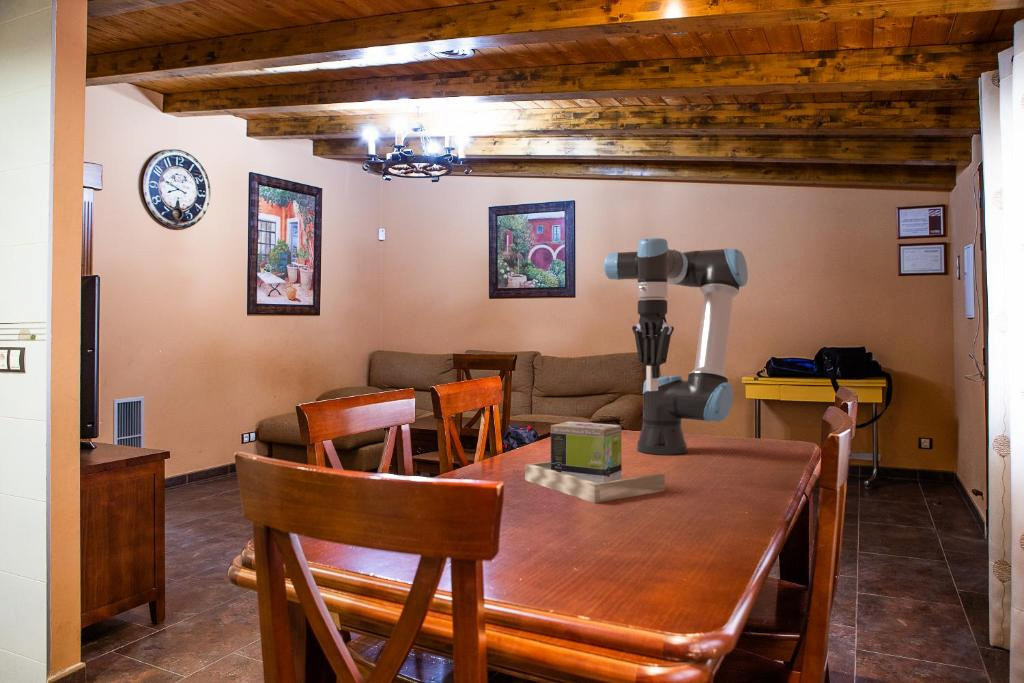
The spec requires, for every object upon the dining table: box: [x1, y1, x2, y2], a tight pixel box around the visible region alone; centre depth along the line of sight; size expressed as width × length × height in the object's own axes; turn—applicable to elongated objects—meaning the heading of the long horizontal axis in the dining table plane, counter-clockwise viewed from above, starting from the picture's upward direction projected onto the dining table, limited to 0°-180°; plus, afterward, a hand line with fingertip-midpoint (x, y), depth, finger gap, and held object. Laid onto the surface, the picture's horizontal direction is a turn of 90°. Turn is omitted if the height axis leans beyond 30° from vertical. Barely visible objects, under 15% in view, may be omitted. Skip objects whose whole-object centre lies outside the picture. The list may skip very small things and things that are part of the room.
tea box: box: [550, 421, 623, 483], centre depth 176 cm, size 15×10×15 cm
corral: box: [524, 460, 666, 504], centre depth 174 cm, size 27×22×4 cm
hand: (652, 390), depth 185 cm, fingers closed
